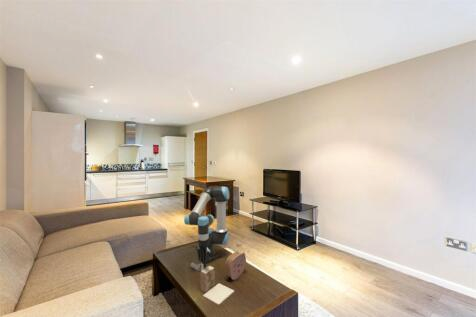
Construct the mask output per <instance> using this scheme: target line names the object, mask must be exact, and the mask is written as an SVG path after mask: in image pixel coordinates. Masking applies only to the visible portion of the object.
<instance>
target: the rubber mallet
mask: <svg viewBox="0 0 476 317" xmlns="http://www.w3.org/2000/svg"><path fill="white" fill-rule="evenodd" d="M222 257H223V254H221V253H218V254H217V255H214V256H212V257H209V260H208V262H207V263H206V264H208V263H210V262H213V261H215V260H217V259H220V258H222ZM189 266H190V268H192V269H194V270H195V271H196V272H200V271H201V263H198V264H196V263H195V262H191V263H190V265H189Z"/></svg>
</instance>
